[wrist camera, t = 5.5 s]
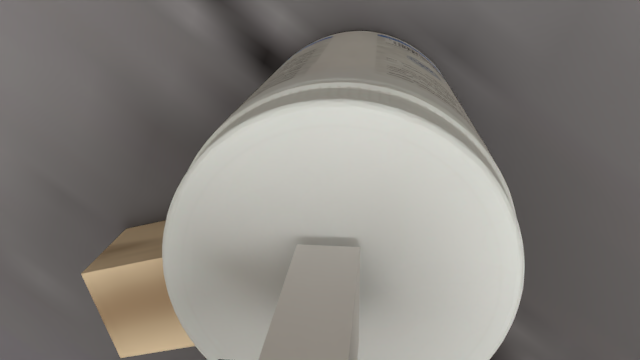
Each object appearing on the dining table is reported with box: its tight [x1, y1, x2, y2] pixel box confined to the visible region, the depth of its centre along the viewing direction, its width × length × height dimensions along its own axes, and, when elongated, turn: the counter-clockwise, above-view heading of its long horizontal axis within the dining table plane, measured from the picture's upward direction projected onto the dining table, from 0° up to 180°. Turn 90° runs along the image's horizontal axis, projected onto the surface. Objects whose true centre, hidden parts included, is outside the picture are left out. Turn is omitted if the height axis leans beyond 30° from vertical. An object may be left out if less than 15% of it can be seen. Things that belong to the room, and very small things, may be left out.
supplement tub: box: [162, 31, 525, 360], centre depth 21 cm, size 10×10×15 cm
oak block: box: [81, 220, 195, 358], centre depth 29 cm, size 5×5×5 cm
